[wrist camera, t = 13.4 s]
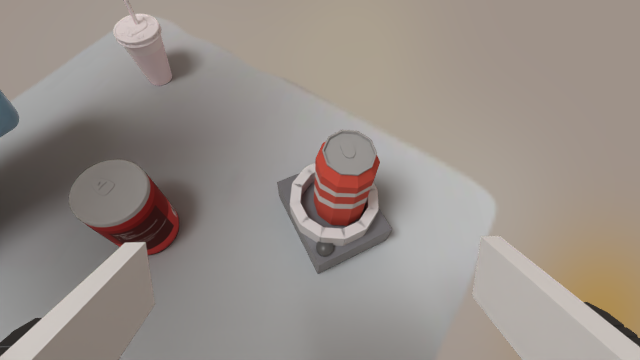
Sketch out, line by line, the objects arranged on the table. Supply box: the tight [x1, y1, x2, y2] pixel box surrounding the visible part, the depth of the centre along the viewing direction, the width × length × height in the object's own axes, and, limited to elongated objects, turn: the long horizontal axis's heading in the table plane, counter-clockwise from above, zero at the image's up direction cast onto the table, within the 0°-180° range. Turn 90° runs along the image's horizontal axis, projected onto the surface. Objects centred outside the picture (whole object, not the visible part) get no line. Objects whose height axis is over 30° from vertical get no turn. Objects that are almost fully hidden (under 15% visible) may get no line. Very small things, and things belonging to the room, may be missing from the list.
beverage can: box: [314, 130, 380, 226], centre depth 38 cm, size 6×6×12 cm
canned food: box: [69, 159, 179, 255], centre depth 40 cm, size 8×8×11 cm
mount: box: [277, 163, 392, 274], centre depth 44 cm, size 12×10×6 cm
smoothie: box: [113, 0, 172, 86], centre depth 52 cm, size 6×6×14 cm
